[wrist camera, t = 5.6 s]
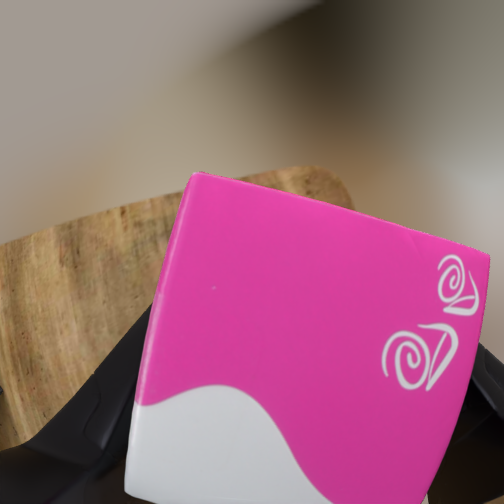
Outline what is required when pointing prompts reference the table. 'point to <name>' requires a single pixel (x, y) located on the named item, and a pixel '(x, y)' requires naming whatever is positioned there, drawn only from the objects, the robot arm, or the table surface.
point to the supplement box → (300, 353)
